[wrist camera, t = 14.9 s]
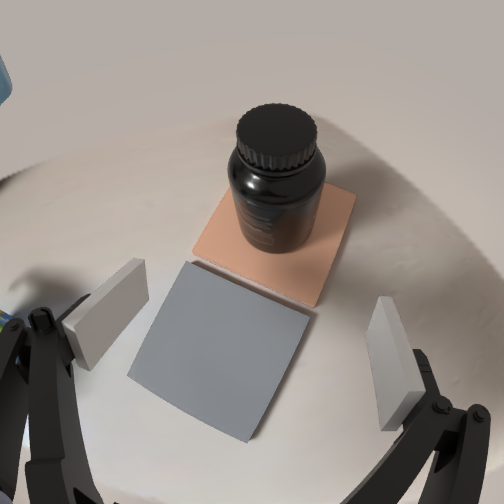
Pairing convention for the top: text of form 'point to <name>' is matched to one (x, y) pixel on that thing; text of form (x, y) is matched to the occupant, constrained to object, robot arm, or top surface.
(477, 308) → the top surface
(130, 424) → the top surface
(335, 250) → the terracotta pad
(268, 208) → the supplement bottle
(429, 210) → the top surface
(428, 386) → the robot arm
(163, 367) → the slate pad
